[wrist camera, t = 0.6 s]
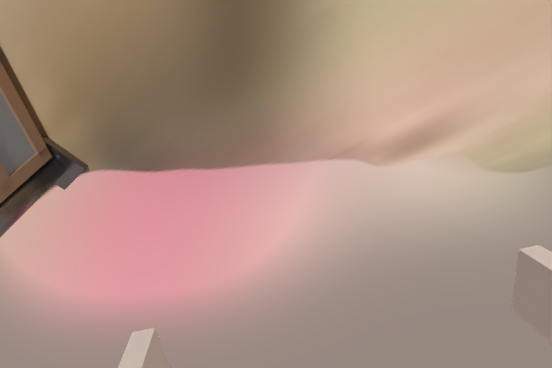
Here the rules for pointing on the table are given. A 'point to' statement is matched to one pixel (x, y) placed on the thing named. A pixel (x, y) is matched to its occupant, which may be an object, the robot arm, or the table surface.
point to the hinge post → (40, 183)
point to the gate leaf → (17, 140)
